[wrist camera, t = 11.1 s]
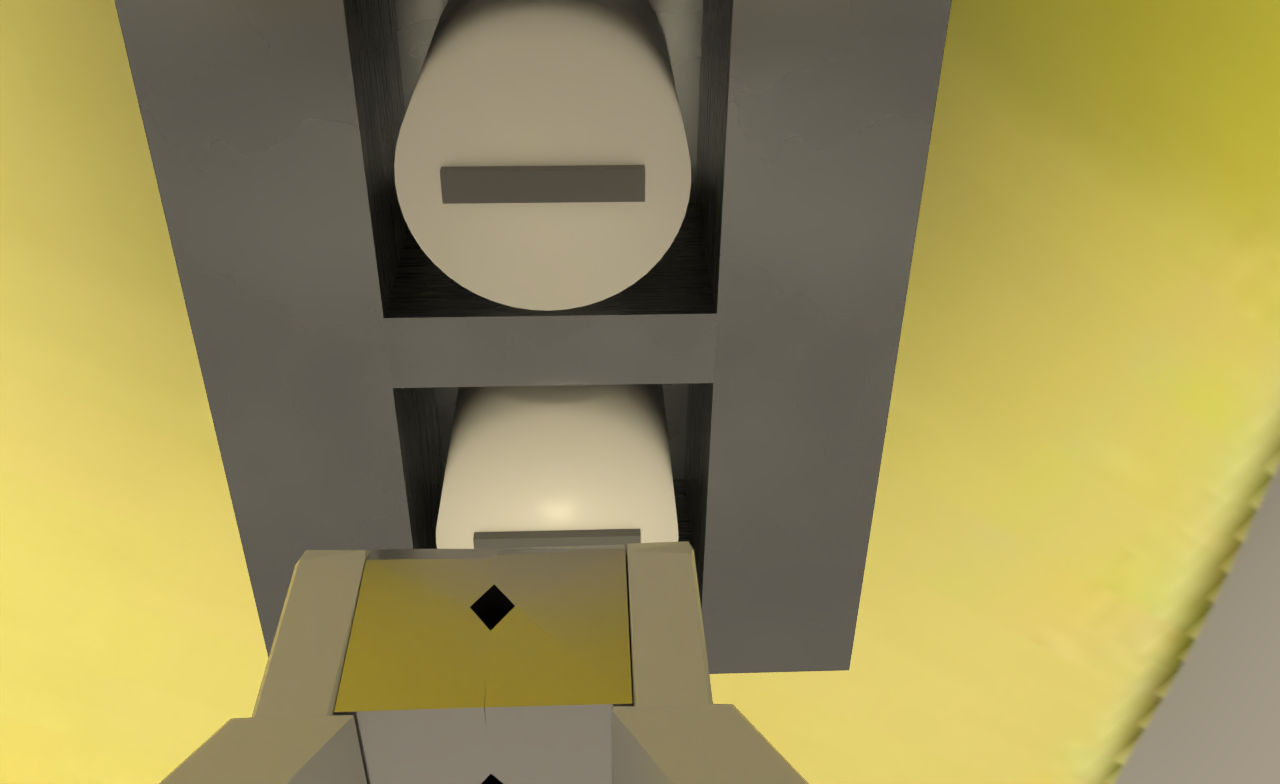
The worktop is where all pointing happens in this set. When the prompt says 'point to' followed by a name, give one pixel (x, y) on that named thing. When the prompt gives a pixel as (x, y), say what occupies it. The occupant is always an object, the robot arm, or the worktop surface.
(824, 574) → the console
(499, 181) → the middle knob
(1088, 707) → the worktop surface
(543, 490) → the knob
